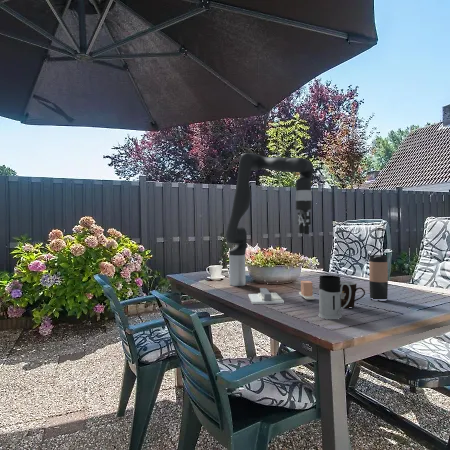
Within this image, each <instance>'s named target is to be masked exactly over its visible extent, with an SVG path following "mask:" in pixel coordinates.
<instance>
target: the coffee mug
mask: <svg viewBox="0 0 450 450" xmlns="http://www.w3.org/2000/svg"><path fill="white" fill-rule="evenodd" d="M343 283H347V284H349V285H350V287H351V298H350V301H349V303H348V305H347V306H345V307H344V308H343V309H347V308H349V307H354V308H355V303H356V302H357V301H359V300H361V299H362V298H363V297H364V296H365V295H366V291H365V289H364V288H363V287H361V286H360V287H357V284H358V283H357V282H355V281H349V280H348V281H347V280H342V281H341V280H340V288H341V285H342V284H343ZM358 290H362V292H363V294H362V296H360V297H358V298H356V292H357V291H358ZM348 299H349V287H348V286H347V285H346V284H344V285H343V287H342V293H341V307H343V306H344V305H345V304H346V303H347V301H348ZM349 309H350V308H349Z"/></svg>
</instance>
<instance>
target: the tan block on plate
mask: <svg viewBox="0 0 450 450" xmlns="http://www.w3.org/2000/svg"><path fill="white" fill-rule="evenodd" d="M313 287H314V286H313V282H312V281H311V280H301V281H300V291H299V292H298V294H299V295H300V296H301V297H302V298H304V299H305V300H315V299H316V297H315V296H314V295H313V292H314V291H313Z"/></svg>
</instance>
